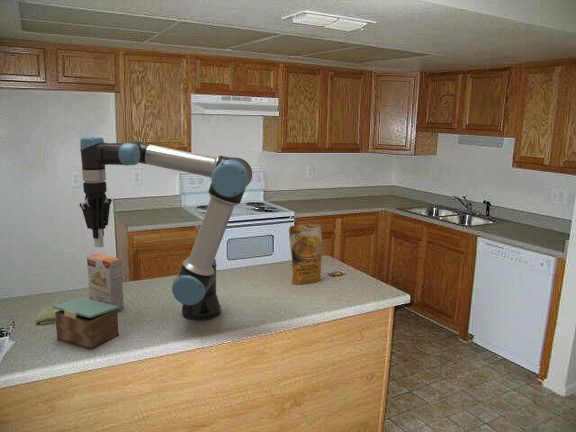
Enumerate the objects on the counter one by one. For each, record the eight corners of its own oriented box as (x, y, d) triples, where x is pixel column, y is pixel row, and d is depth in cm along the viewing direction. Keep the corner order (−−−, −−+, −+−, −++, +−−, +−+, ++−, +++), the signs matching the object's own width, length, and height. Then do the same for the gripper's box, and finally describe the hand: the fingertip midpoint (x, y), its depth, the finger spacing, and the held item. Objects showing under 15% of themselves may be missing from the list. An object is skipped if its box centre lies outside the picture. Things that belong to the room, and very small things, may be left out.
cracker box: (89, 305, 190) (85, 255, 186) (101, 300, 195) (99, 252, 191) (111, 313, 183) (108, 262, 179) (124, 308, 188) (121, 258, 184)
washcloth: (41, 313, 182) (40, 305, 182) (90, 308, 188) (89, 300, 188) (35, 327, 170) (34, 319, 170) (87, 321, 176) (87, 313, 175)
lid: (118, 312, 163) (118, 306, 162) (88, 322, 151) (88, 316, 151) (82, 303, 170) (82, 297, 169) (51, 312, 158) (51, 306, 158)
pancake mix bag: (284, 282, 224) (285, 224, 218) (318, 276, 232) (320, 221, 227) (290, 286, 218) (292, 228, 212) (325, 281, 227) (328, 224, 221)
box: (122, 334, 166) (121, 308, 164) (92, 350, 154) (91, 322, 152) (86, 324, 173) (85, 299, 171) (56, 339, 161) (53, 312, 159)
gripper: (100, 178, 171) (104, 241, 176) (71, 182, 159) (77, 249, 164) (116, 180, 168) (120, 243, 173) (88, 184, 156) (93, 252, 161)
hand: (99, 246), depth 169 cm, fingers closed
